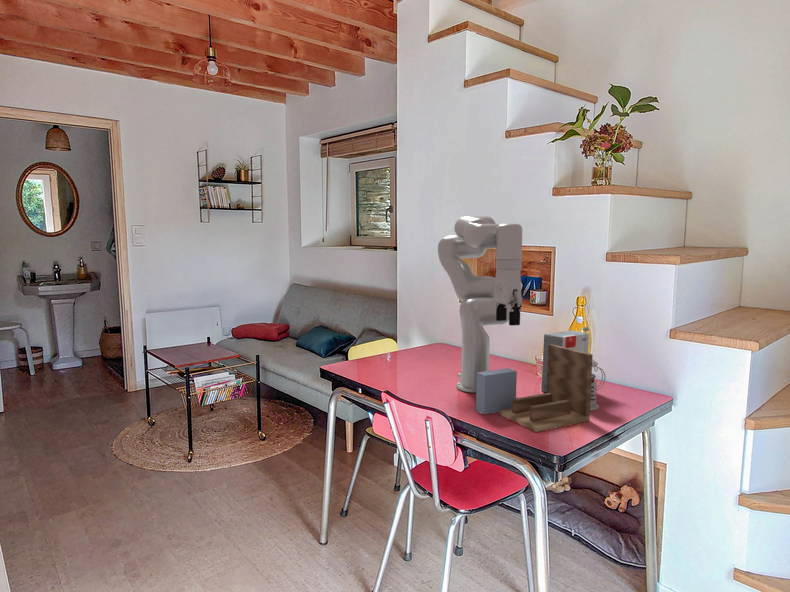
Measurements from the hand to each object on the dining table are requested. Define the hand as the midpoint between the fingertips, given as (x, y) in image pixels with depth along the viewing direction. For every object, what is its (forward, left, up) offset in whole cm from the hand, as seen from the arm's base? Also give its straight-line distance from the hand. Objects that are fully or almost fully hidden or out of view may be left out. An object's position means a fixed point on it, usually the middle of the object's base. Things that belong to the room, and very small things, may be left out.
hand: (507, 322), depth 160 cm
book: (-1, -3, -27) cm, 27 cm away
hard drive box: (-7, +31, -27) cm, 42 cm away
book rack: (+11, +5, -27) cm, 29 cm away
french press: (+8, +25, -27) cm, 38 cm away
